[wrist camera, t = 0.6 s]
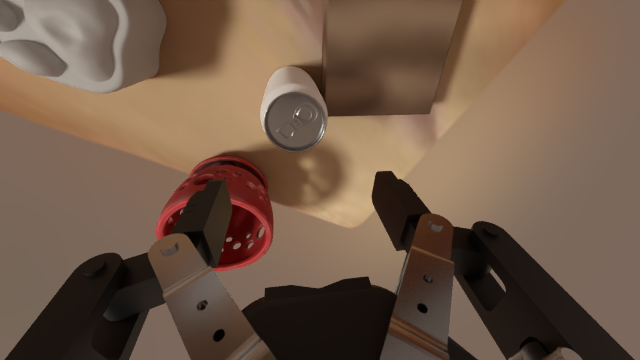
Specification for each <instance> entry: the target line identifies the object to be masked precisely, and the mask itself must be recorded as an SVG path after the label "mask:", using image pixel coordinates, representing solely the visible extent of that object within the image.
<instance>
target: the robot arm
mask: <svg viewBox="0 0 640 360" xmlns="http://www.w3.org/2000/svg"><path fill="white" fill-rule="evenodd" d="M372 202H373V205H374V207H375V209H376V211H377V213H378V215H379V217H380V219H381V221H382V223H383V225H384V227H385V229H386V231H387V233H388V235H389V237H390V239H391V241H392V243H393V245H394V247H395V248H396V250H397V251H400V250H405V251H406V253H407V255H406V258H405V261H404V264H403V267H402V271H401V274H400V277H399V281H398V284H397V287H396V290H395V293H393V292H391V291H389V290H387V289H385V288H382V287H380V286H376V285H371V283H370V280H369V277H359V278H350V279H343V280H340V281H338V282H335V283H333V284H330V285H328V286H325V287H323V288H310V287H302V286H295V285H288V286H279V287H270V288H265V297H263V298H260V299H258V300H256V301H254V302H252V303H251V304H249V305H248V306H247V307H245V308H244V309H243V310H242V311H241V310H240V309H239V308H238V306H237V304H236V303H235V302H234V300H233V298H232V297H231V295H230V294H229V292H227V290H226V288H225V287H224V285H223V284H222V282H221V281H220V279H219V278H218V276H217V275H216V274H215V272H214V270H213V269H212V268H217V266H218V263H219V259H220V255H221V252H222V248H223V244H224V241H225V237H226V233H227V230H228V226H229V222H230V219H231V215H232V203H231V199H230V195H229V191H228V187H227V183H226V181H225V180H209V181H208V182H207V184H206V186H205V188H204V190H203V191H197V192H196V193H195V194H194V195H192V196H191V197H190V198H189V200H188V202H187V204H186V206H185V208H184V210H183V213H181V215H180V217H179V219H178V221H177V222H176V224H175V226H174V228H173V230H172V232H171V234H170V235H167V236H165V237H163V238H161V239H159V240H158V241H157V242H155V243H154V244H153V245H152V246H151V248H150V249H149V251H148V252H147V253H144V254H141V255H138V256H135V257H132V258H128V259H125V260H123V259H122V258H121V256H120V255H119V254H116V253H104V254H101V255H98V256H95V257H93V258H91V259H89V260H87V261H86V262H84V263H82V264H81V265H80V266H79V267H78V268H76V269H75V270H74V272H73V273H72V274H71V275H70V277H69V278H68V279H67V280H66V282H65V283H64V284H63V286H62V287H61V288H60V289H59V291H58V292H57V293H56V295H55V296H54V297H53V298H52V300H51V301H50V302H49V304H48V305H47V306H46V308H45V309H44V310H43V311H42V312H41V314H40V315H39V316H38V318H37V319H36V320H35V321H34V323H33V324H32V325H31V327H30V328H29V329H28V330H27V332H26V333H25V334H24V336H23V337H22V338H21V339H20V341H19V342H18V343H17V345H16V346H15V347H14V348H13V350H12V351H11V352H10V353H9V355H8V356H7V357H6V359H5V360H129V358H130V356H131V353H132V351H133V348H134V346H135V344H136V341H137V339H138V336H139V333H140V331H141V329H142V326H143V324H144V322H145V319H146V317H147V314H148V312H149V309H151V308H154V307H156V306H159V305H162V304H164V303H166V304H167V306H168V309H169V311H170V313H171V315H172V318H173V320H174V323H175V325H176V327H177V329H178V332H179V334H180V336H181V339H182V341H183V343H184V346H185V348H186V350H187V352H188V355H189V357H190V359H191V360H477V359H476V358H475V357H474V356H472V355H471V354H470V353H469V352H467V351H466V350H465V349H464V348H463V347H461V346H460V345H459V344H458V343H456V342H455V341H454V340H453V339H451V338H450V337H449V336H448V333H449V321H450V310H451V298H452V287H453V276H455V277H456V279H457V281H458V282H459V284H460V285H461V287H462V289H463V290H464V292H465V293H466V295H467V297H468V298H469V300H470V302H471V303H472V305H473V306H474V308H475V310H476V311H477V313H478V314H479V316H480V318H481V319H482V321H483V323H484V324H485V326H486V327H487V329H488V331H489V332H490V334H491V336H492V337H493V339H494V340H495V342H496V344H497V345H498V347H499V348H500V350H501V352H502V353H503V355H504V356H505V358H506V360H634V359H633V358H632V357H631V356H630V355H629V354H628V353H627V352H626V351H625V350H624V349H623V348H622V347H621V346H620V345H619V344H618V343H617V342H616V341H615V340H614V339H613V338H612V337H611V336H610V335H609V334H608V333H607V332H606V331H605V330H604V329H603V328H602V327H601V326H600V325H599V324H598V323H597V322H596V321H595V320H594V319H593V318H592V317H591V316H590V315H589V314H588V313H587V312H586V311H585V310H584V309H583V308H582V307H581V306H580V305H579V304H578V303H577V302H576V301H575V300H574V299H573V298H572V297H571V296H570V295H569V294H568V293H567V292H566V291H565V290H564V289H563V288H562V287H561V286H560V285H559V284H558V283H557V282H556V281H555V280H554V279H553V278H552V277H551V276H550V275H549V274H548V273H547V272H546V271H545V270H544V269H543V268H542V267H541V266H540V265H539V264H538V263H537V262H536V261H535V260H534V259H533V258H532V257H531V256H530V255H529V254H528V253H527V252H526V251H525V250H524V249H523V248H522V247H521V246H520V245H519V244H518V243H517V242H516V241H515V240H514V239H513V238H512V237H511V236H510V235H509V234H508V233H507V232H506V231H505V230H504V229H502V228H500V227H499V226H497V225H495V224H492V223H489V222H484V221H479V222H476V223H474V224H473V226H472V228H471V229H466V228H460V227H454V226H452V224H451V223H450V222H449V221H448V220H447V219H445V218H444V217H442V216H440V215H437V214H432V213H431V212H430V211H429V210H428V208H427V207H426V206H425V204H424V203H423V202H422V201H421V199H420V198H419V197H417V194H416V193H415V192H414V191H413V189H412V188H411V187H410V186H409V184H407V183H406V182H404V181H403V180H401V179H397V178H396V176H395V175H394V174H393V172H392V171H379V172H377V173H376V175H375V181H374V186H373V191H372ZM491 269H493V270H494V272H495V273H496V274H497V275H498V276H499V278H500V279H501V280H502V282H503V283H504V285H505V288H506V293H505V291H504V290H503V289H502V288H501V286H500V285H499V284H498V282H497V281H496V280H495V278H494V277H493V276H492V275H491V273H490V271H491Z"/></svg>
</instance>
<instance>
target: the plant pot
mask: <svg viewBox="0 0 640 360" xmlns="http://www.w3.org/2000/svg"><path fill="white" fill-rule="evenodd" d="M209 180H225V181H226V183H227V187H228V191H229V195H230V199H231V203H232V215H231V219H230V222H229V226H228V230H227V233H226V237H225V241H224V244H223V249H224V251H223V252H221V255H220V259H219V263H218V266H217V268H212V269H213V270H214V271H227V270H233V269H238V268H241V267H244V266H247V265H249V264H252V263H253V262H255V261H257V260H258V259H260V258H261V257H262V256H263V255H264V254H265V253H266V251H268V249H269V247H270V245H271V243H272V239H273V212H272V207H271V203H270V199H269V196H268V186H267V182H266V179H265V177H264V175H263V174H262V172H261V171H260V170H259V169H258V168H257V167H256V166H255V165H253V164H252V163H250V162H249V161H247V160H244V159H242V158H238V157H234V156H216V157H212V158H209V159H206V160H204V161H202V162H201V163H199V164H198V165H197V166H196V167H195V168H194V169H193V170H192V172H191V173H190V175H189V178H188V179H187V180H185V181H184V182H183V183H182V184H181V185H180V187H179V188H178V189H177V190H176V191H175V192H174V193H173V195H172V197H171V198H170V200H169V201H168V202H167V204H166V205H165V207H164V209H163V211H162V212H161V215H160V217H159V219H158V222H157V226H156V234H157V239H158V240H159V239H161V238H163V237H165V236H167V235H170V234H171V232H172V230H173V228H174V226H175V223H176V222H177V221H178V219H179V217H180V211H182V213H183V210H184V208H185V206H186V204H187V202H188V200H189V198H190V197H191V196H192V195H194V194H195V193H196V192H197V191H203V190H204V188H205V186H206V184H207V182H208V181H209ZM263 226H264V228H265V231H264V234H263V235H262V237H260V238H259V237H258V235H259V232H260V230H261V228H262V227H263ZM248 234H251V235H250V237H249V238H247V239H246V236H247V235H248ZM229 237H232V238H233V239H232V241H230V242H226V239H227V238H229ZM252 242H254V244H253V246H252V247H251V248H249V249H247V248H248V245H249V244H250V243H252ZM237 243H241V246H240V247H239V248H238V249H233V246H234V245H235V244H237Z"/></svg>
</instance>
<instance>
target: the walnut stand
mask: <svg viewBox="0 0 640 360" xmlns="http://www.w3.org/2000/svg"><path fill="white" fill-rule="evenodd" d="M462 1H463V0H324V2H323V44H322V87H321V96H322V98H323V100H324V102H325V104H326V107H327V112H328V116H367V115H411V114H430V111H431V107H432V104H433V101H434V97H435V94H436V90H437V87H438V83H439V80H440V77H441V73H442V70H443V66H444V63H445V59H446V56H447V53H448V49H449V46H450V42H451V39H452V35H453V32H454V29H455V25H456V22H457V18H458V15H459V11H460V8H461V5H462Z"/></svg>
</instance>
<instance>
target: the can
mask: <svg viewBox="0 0 640 360" xmlns="http://www.w3.org/2000/svg"><path fill="white" fill-rule="evenodd" d="M260 117H261V124H262V127H263V129H264V131H265V133H266V135H267V137H268V138H269V140H270V141H271V142H272V143H273V144H274V145H275V146H276V147H278V148H280V149H282V150H284V151H287V152H303V151H307V150H309V149H311V148H313V147H314V146H315V145H316V144H318V143H319V141H320V140H321V139H322V137H323V135H324V133H325V130H326V126H327V121H328V112H327V107H326V104H325V102H324V100H323V98H322V96H321V94H320V92H319V90H318V88H317V86H316V84H315V83H314V81H313V79H312V78H311V77H310V75H309V74H308V73H306V72H305V71H304V70H302V69H300V68H298V67H294V66H287V67H283V68H280V69H278V70H277V71H276V72H274V73H273V74H272V76H271V77H270V79H269V81H268V84H267V87H266V90H265V94H264V98H263V102H262V106H261V112H260Z"/></svg>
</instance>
